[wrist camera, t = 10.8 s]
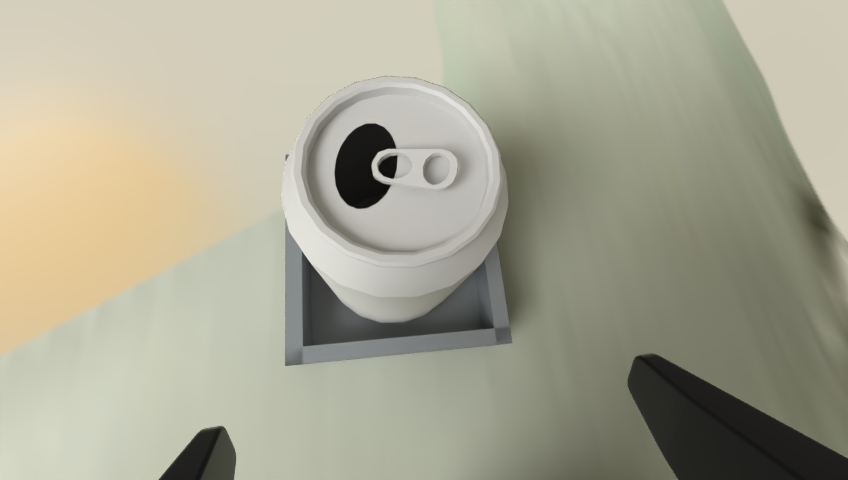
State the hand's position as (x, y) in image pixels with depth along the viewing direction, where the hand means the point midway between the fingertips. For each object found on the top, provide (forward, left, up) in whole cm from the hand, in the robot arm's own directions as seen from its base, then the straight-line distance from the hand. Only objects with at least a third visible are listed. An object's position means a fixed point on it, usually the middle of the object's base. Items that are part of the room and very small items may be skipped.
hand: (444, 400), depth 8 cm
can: (+6, 0, -13) cm, 15 cm away
